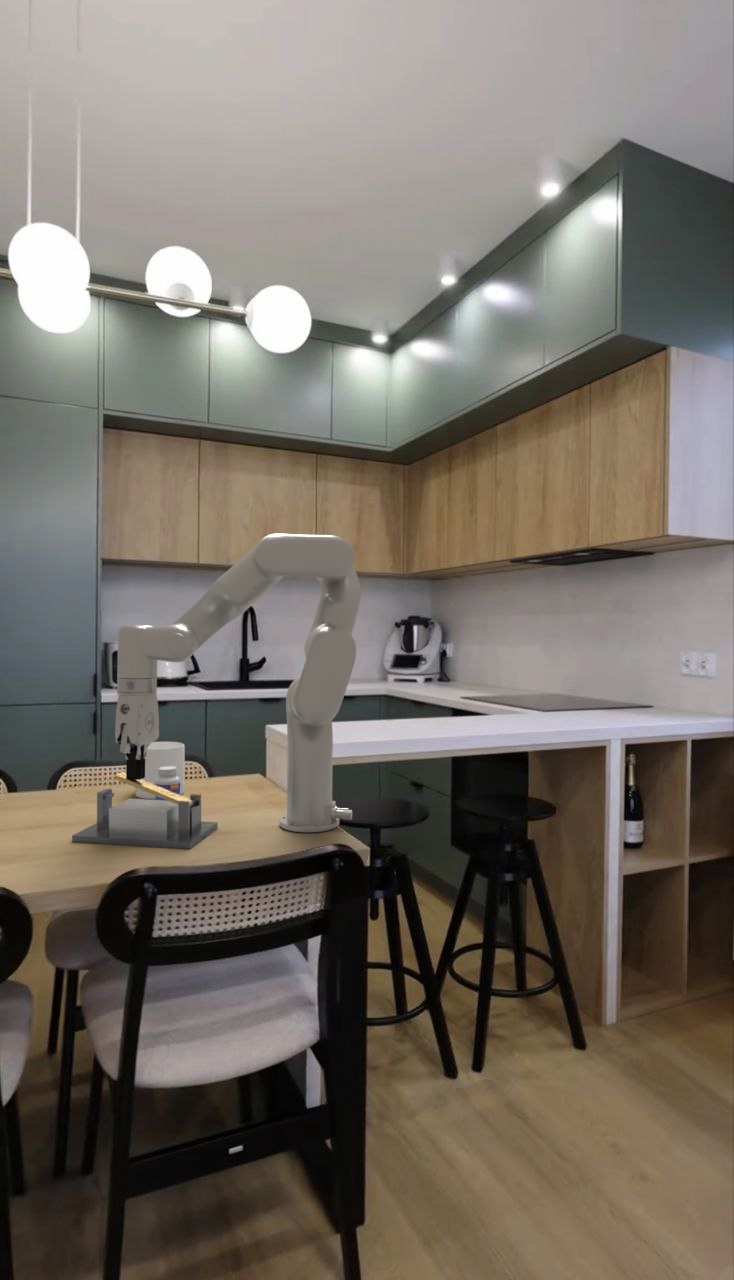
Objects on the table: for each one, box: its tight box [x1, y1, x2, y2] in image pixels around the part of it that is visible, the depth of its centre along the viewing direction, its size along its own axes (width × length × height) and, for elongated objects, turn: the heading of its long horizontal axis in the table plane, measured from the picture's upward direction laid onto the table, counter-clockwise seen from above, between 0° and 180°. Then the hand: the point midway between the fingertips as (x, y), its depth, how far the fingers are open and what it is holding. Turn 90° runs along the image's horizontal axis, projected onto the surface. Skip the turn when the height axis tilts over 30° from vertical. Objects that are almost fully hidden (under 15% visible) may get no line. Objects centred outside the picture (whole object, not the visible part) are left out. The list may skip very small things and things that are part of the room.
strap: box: [114, 771, 196, 807], centre depth 143 cm, size 16×4×1 cm, turn 81°
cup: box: [134, 741, 186, 800], centre depth 178 cm, size 12×12×12 cm
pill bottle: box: [154, 766, 180, 801], centre depth 161 cm, size 5×5×10 cm
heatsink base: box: [71, 788, 219, 850], centre depth 143 cm, size 24×14×8 cm, turn 81°
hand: (135, 778), depth 143 cm, fingers closed
